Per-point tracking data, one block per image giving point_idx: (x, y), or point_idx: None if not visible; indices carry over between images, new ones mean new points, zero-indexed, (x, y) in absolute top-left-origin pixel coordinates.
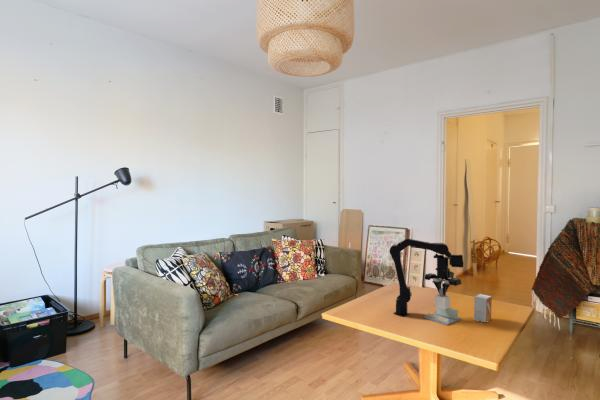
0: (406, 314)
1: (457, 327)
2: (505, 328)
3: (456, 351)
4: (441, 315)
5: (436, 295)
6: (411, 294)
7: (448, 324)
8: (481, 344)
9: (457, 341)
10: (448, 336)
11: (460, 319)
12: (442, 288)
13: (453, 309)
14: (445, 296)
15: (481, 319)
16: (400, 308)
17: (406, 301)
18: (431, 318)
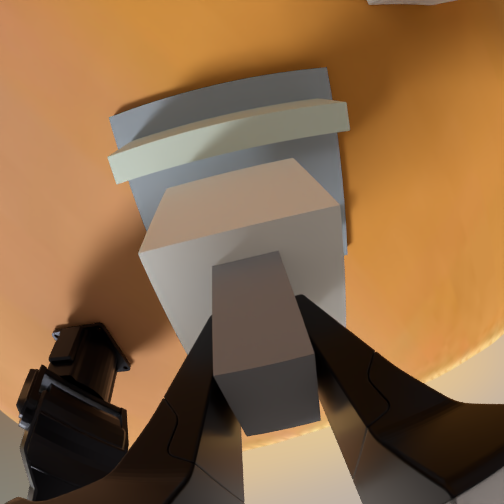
0: (112, 345)
1: (392, 218)
2: (497, 15)
3: (456, 362)
4: (199, 161)
5: (188, 341)
6: (85, 436)
7: (344, 240)
8: (499, 272)
9: (445, 326)
10: (410, 329)
11: (328, 83)
12: (249, 390)
13: (312, 127)
14: (294, 269)
15: (420, 1)
16: (110, 399)
17: (125, 431)
18: None
